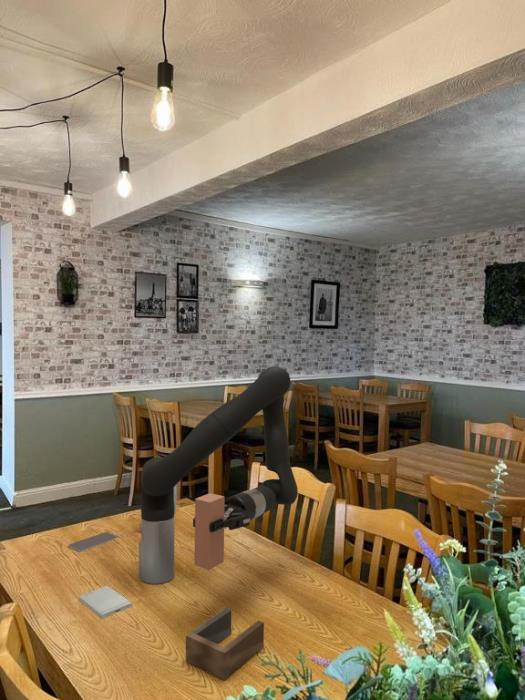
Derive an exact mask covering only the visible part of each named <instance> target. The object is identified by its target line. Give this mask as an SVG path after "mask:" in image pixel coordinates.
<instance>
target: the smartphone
mask: <svg viewBox="0 0 525 700" xmlns="http://www.w3.org/2000/svg"><path fill="white" fill-rule="evenodd" d="M115 538H118V539H119V536H118V535H116V534H113V533H110V532H108V531H105V532H101V533H98V534H96V535H92V536H90V537H87V538H84V539H79V540H77V541H75V542H72V543H70V544H68V546H67V547H68V548H69V549H71V550H73V551H74V552H77V553H83V552H82V551H84V552H86V551H88V549H89V550H92V549H94V548H97V547H99V546H98V545H100V546H102V545H104V544H103V543H105V544H107V543H106V542H108V541H110V540H113V539H115ZM113 541H114V540H113ZM110 542H111V541H110ZM108 543H109V542H108ZM101 544H102V545H101ZM96 546H97V547H96ZM93 547H94V548H93ZM91 548H92V549H91ZM85 550H86V551H85Z"/></svg>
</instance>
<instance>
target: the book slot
mask: <svg viewBox="0 0 525 700" xmlns="http://www.w3.org/2000/svg"><path fill="white" fill-rule="evenodd" d="M264 625H265V622H264V621H261V620H257V621H255V622H254V623H253V624H251V625H250V626H249V627H248V628H246V629H245V630H244V631H242V632H241V633H240V634H239V635H238V636H236V637H235V638H234V639H232V640H231V641H229V642H228V643H227V644H226V645H224V646H223V645H221V644H219V643H222V641H223V640H225V639H227V637H229V636H230V635H232V609H231V608H227V607H225V608H224V609H222V610H221V611H220V612H218V613H217V614H216V615H214V616H212V617H210V618H209V619H208V620H207V621H205V622H203V623H202V624H200V625H199V626H198V627H196V628H195V629H194V630H191V631H190V632H189V633H188V634H185V662H186V663H187V664H188V663H189V664H190V665H192V666H194V667H197V668H199V669H201V670H202V671H205V672H207V673H209V674H210V675H213V676H215V677H217V678H219V679H220V680H223V681H226V680H227V679H229V678H230V677H231V676H232V675H233V674H234V673H235V672H237V671H238V670H240V668H241V667H243V665H245V664H247V662H248V661H249V660H250V658H251V657H252V656H253V657H254V656H255V655H256V654H257V653H256V652H258V653H259V652H260V651H261V650H262V649H263V648H264V643H265V641H264V639H265V631H264V630H265V629H264V628H265V626H264ZM253 657H252V658H253ZM252 658H251V659H252Z"/></svg>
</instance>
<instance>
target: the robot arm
mask: <svg viewBox="0 0 525 700" xmlns="http://www.w3.org/2000/svg"><path fill="white" fill-rule="evenodd" d="M290 387H291V376H290V374H289V372H288V371H287V370H286V369H284V368H282V367H279V366H269V367H267V368H265V369H264V370H263V371H261V372H260V373H259V375H258V376H257V378H256V379H255V380H254V381H253V382H252V383H251V384H250V385H249V386H248V387H246V389H245V390H244V391H242V392H241V393H240V394H238V395H237V396H234V397H233V398H232V399H231V398H230V400H227V402H225V403H223V404H221V406H219V407H217V408H215V410H213V411H212V412H211V413H209V414H208V415H206V417H204V418H203V419H202V420H201V421H200V422H199V423H197V425H196V426H194V428H193V429H192V430H191V432H189V434H188V435H187V436H186V437H185V439H184V440H183V441H182V442H181V444H180V445H178V446H177V448H175V449H174V450H173V451H172V452H171V451H170V453H168V454H166V456H164V457H161V456H159V457H157V456H156V457H152V458H150V459H149V460H147V461H145V463H144V464H143V466H142V468H141V471H140V517H141V519H140V523H141V524H140V533H141V536H140V537H141V538H140V542H138V577H140V579H141V580H142V582H144V583H147V584H152V585H155V584H156V585H157V584H164V583H167V582H170V581H171V580H172V579H173V578H174V577H175V526H176V525H175V516H174V513H175V507H174V486H175V485H176V484H177V485H178V483H179V482H180V481H181V480H182V479H183V478H184V477H186V475H188V473H190V472H191V471H192V470H193V469H194V468H195V467H196V466H198V465H199V464H200V463H202V462H203V461H205V460H206V459H207V458H208V457H210V456H211V455H212V454H213V453H215V452H217V450H218V449H220V448H222V446H224V445H225V444H226V443H227V442H229V441H230V440H231V439H232V438H233V437H234V436H235V435H236V434H238V432H240V431H241V430H242V429H243V428H245V426H246V425H247V424H248V423H249V422H251V420H252V419H253V418H255V416H256V415H257V414H259V412H261V411H262V416H263V425H264V427H263V429H264V432H263V433H264V437H263V438H264V456H265V459H264V460H265V467H266V469H267V471H269V472H273V473H275V474H276V475H277V477H278V478H269V479H266V480H264V481H262V482H261V483H260V484H259V485H258V486H257V487H254V488H251V489H248V490H244V491H242V492H239V493H236V494H234V495H231V496H229V497H228V498H227V499H226V500H225V501H224V517H222V518H221V519H218V520H216V521H213V522H211V523H210V524H209V531H210V532H212V533H213V532H215V531H217V530H219V529H221V528H222V529H224V530H225V529H228V530H229V531H233V530H237V529H240V528H244V527H247V526H250V524H251V523H250V522H251V521H253V520H255V519H257V518H258V517H260V516H261V515H263V514H265V513H267V512H269V511H271V510H272V509H273V508H274V506H275V505H285V506H291V505H292V504H294V503H295V502H296V500H297V498H298V495H299V494H298V491H299V490H298V485H297V481H296V479H295V475H294V472H293V469H292V466H291V462H290V460H291V459H290V444H289V438H288V437H289V436H288V431H287V427H286V421H285V414H284V399H285V395H286V394H287V393H288V392H289V389H290ZM192 526H193V528H195V517H194V518H193V519H192Z"/></svg>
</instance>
